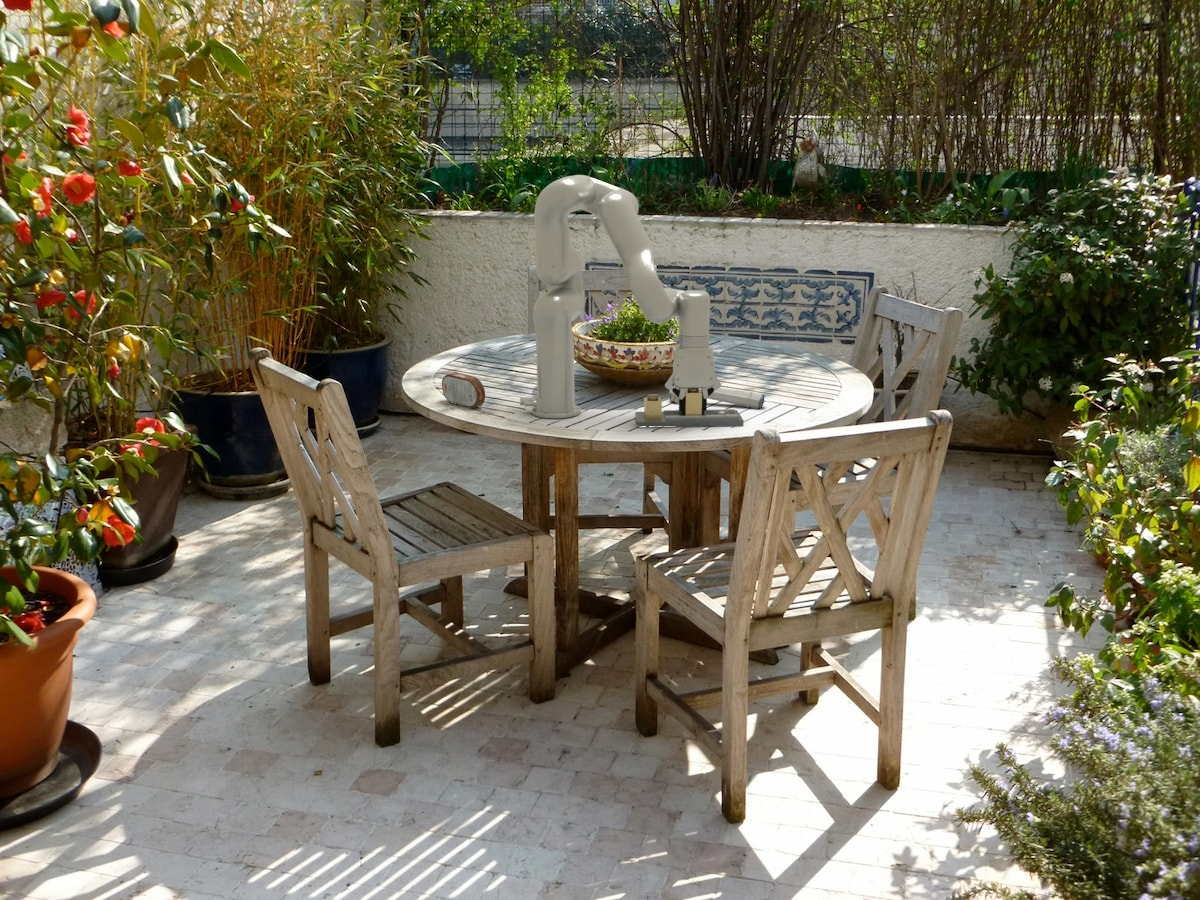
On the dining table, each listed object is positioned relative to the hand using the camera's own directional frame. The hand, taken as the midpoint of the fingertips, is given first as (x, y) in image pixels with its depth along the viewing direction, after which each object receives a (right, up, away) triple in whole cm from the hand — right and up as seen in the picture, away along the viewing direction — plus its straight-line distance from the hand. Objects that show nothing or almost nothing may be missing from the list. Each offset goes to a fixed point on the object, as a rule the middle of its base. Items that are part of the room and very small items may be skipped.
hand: (692, 412), depth 295 cm
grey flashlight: (+8, +2, +18) cm, 19 cm away
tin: (-60, +2, +18) cm, 62 cm away
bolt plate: (-1, -2, +1) cm, 3 cm away
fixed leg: (-10, -1, 0) cm, 10 cm away
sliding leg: (0, 0, 0) cm, 0 cm away
